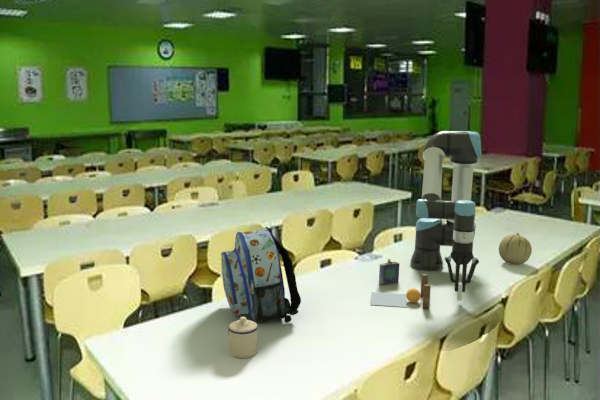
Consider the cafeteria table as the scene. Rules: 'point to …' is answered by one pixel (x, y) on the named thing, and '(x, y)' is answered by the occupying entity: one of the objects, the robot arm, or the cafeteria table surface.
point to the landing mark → (388, 299)
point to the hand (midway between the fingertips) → (459, 299)
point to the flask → (389, 273)
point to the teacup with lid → (243, 338)
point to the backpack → (259, 277)
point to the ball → (413, 295)
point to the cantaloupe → (515, 249)
